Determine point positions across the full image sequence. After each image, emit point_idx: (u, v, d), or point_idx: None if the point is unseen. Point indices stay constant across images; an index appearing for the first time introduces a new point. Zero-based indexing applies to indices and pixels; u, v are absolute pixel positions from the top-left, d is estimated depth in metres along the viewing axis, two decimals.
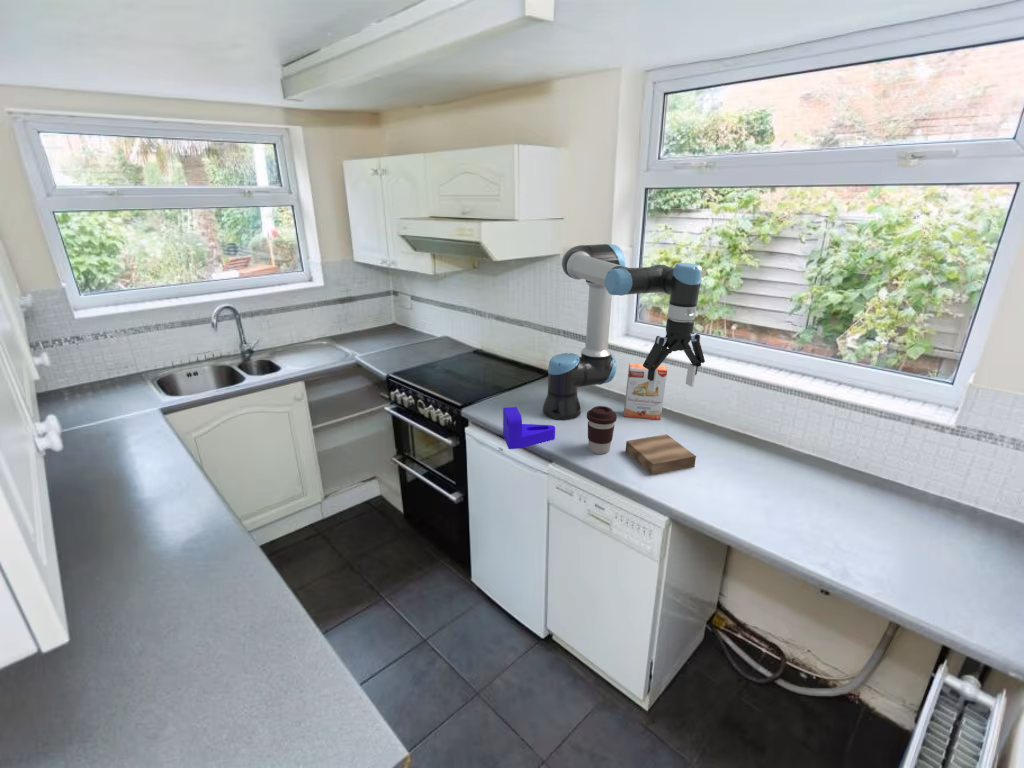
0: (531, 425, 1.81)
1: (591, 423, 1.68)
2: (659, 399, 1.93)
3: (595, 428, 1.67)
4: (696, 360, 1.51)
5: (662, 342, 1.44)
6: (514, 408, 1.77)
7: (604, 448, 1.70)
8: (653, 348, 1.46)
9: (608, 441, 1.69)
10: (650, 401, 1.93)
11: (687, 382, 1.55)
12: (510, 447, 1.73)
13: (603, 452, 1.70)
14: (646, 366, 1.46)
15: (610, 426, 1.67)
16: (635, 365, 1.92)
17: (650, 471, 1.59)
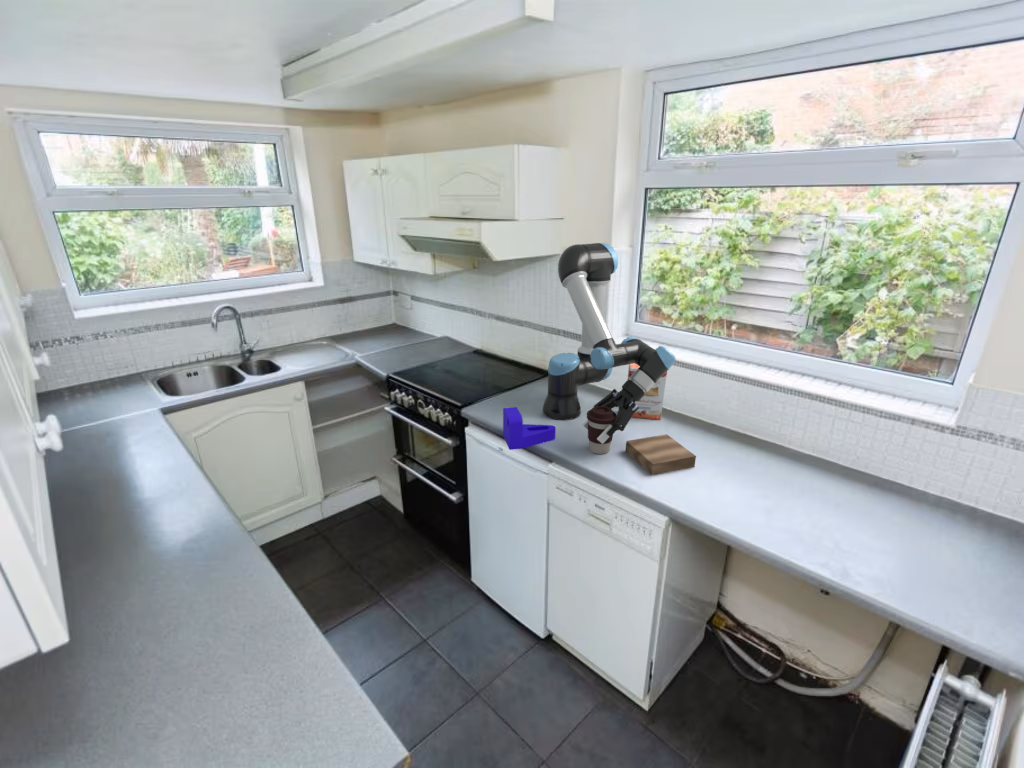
0: (531, 425, 1.81)
1: (591, 423, 1.68)
2: (659, 399, 1.93)
3: (595, 428, 1.67)
4: None
5: None
6: (514, 408, 1.77)
7: (604, 448, 1.70)
8: (629, 413, 1.63)
9: (608, 441, 1.69)
10: (650, 401, 1.93)
11: (586, 425, 1.75)
12: (511, 447, 1.73)
13: (603, 452, 1.70)
14: (622, 428, 1.63)
15: None
16: (635, 365, 1.92)
17: (650, 471, 1.59)
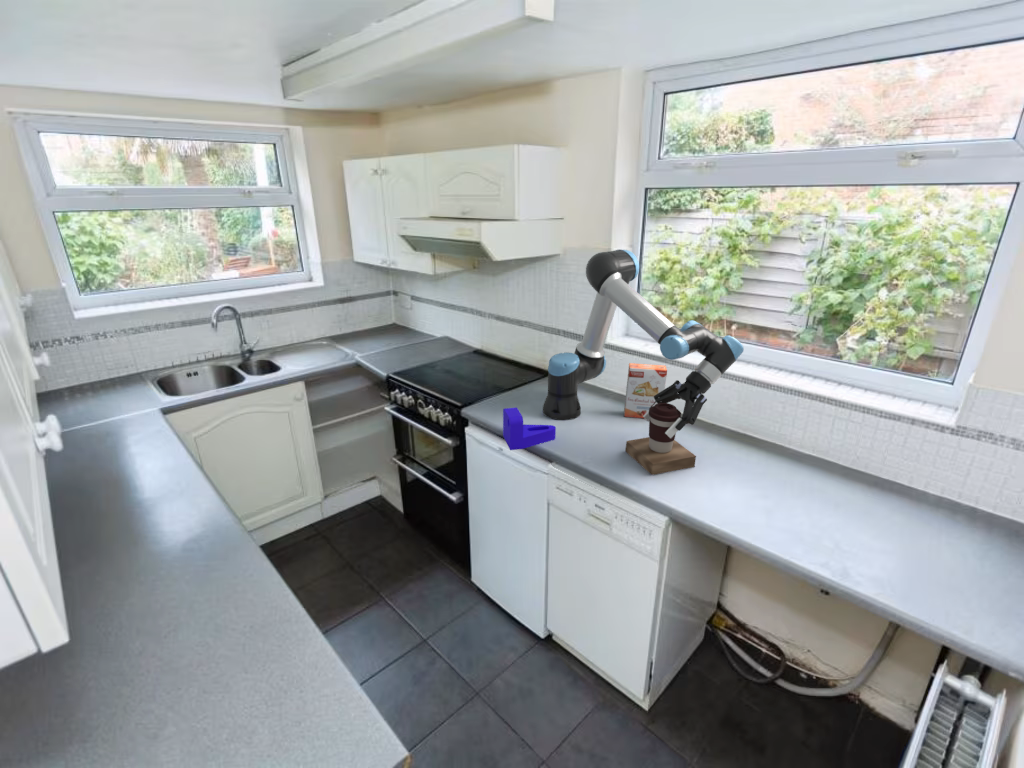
0: (531, 425, 1.81)
1: (654, 421, 1.60)
2: None
3: (659, 426, 1.59)
4: None
5: None
6: (514, 409, 1.76)
7: (667, 447, 1.62)
8: (698, 405, 1.55)
9: (671, 439, 1.61)
10: (650, 401, 1.93)
11: (646, 417, 1.68)
12: (511, 448, 1.73)
13: (666, 451, 1.63)
14: (693, 422, 1.54)
15: None
16: (635, 365, 1.92)
17: (650, 471, 1.59)
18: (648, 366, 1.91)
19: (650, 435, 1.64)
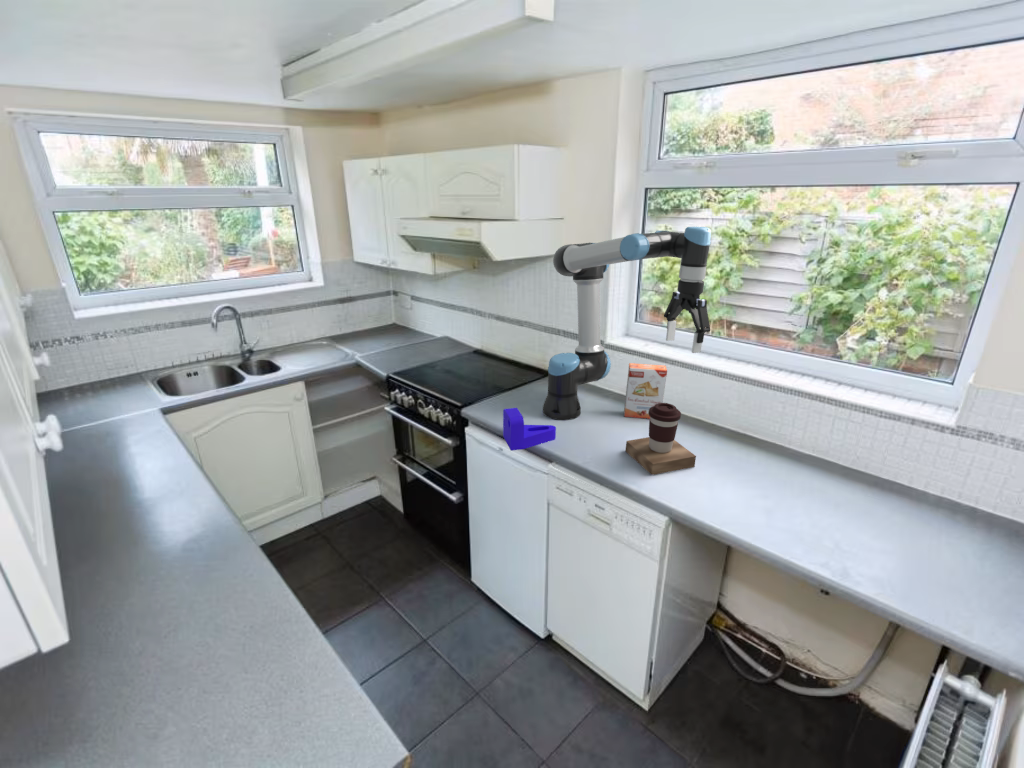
0: (531, 426, 1.81)
1: (654, 421, 1.60)
2: (659, 399, 1.93)
3: (659, 426, 1.59)
4: None
5: None
6: (515, 409, 1.76)
7: (667, 447, 1.62)
8: (702, 312, 1.50)
9: (671, 439, 1.61)
10: (650, 401, 1.93)
11: (669, 338, 1.67)
12: (512, 448, 1.73)
13: (666, 451, 1.63)
14: (708, 329, 1.50)
15: (674, 424, 1.59)
16: (635, 365, 1.92)
17: (650, 471, 1.59)
18: (648, 366, 1.91)
19: (650, 435, 1.64)
